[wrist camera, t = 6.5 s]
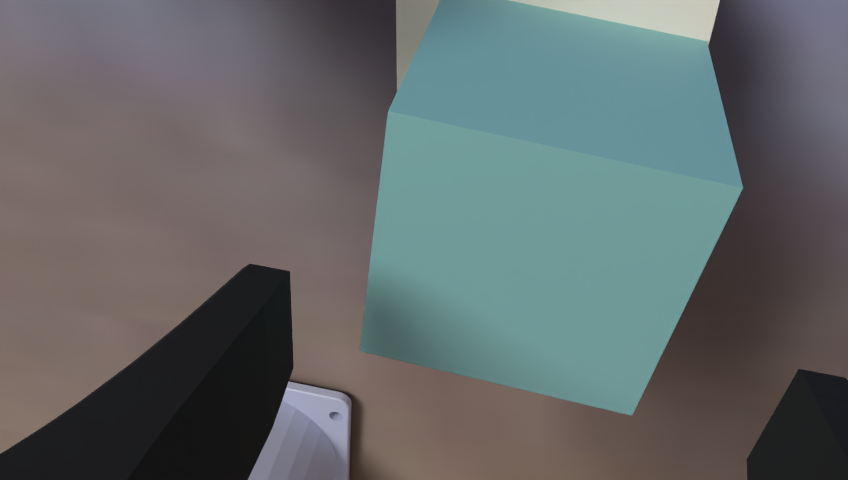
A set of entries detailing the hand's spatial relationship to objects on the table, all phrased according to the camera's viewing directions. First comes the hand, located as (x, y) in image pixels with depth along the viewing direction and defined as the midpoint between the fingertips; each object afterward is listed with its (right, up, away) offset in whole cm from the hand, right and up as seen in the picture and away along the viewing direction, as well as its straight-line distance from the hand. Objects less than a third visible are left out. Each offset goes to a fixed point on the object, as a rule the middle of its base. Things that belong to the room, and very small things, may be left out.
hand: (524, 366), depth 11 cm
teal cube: (+1, +4, +5) cm, 7 cm away
